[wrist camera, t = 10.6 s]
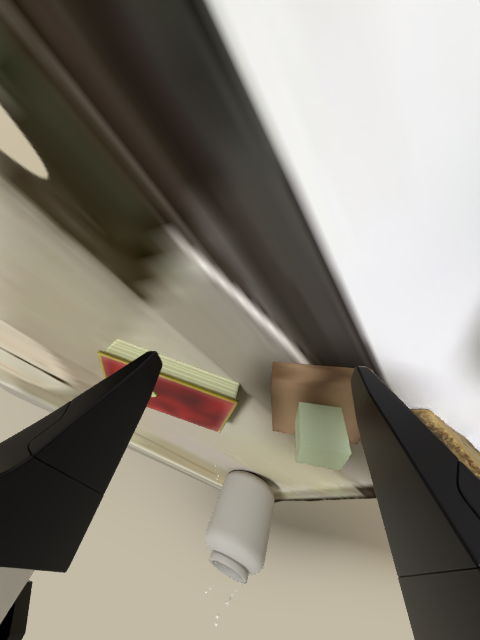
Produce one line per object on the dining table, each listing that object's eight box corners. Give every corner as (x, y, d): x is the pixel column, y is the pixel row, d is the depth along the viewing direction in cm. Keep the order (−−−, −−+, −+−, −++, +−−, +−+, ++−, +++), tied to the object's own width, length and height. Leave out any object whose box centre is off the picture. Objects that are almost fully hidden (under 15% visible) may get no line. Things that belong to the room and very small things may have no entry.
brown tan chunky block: (508, 460, 26) (528, 434, 21) (491, 528, 24) (509, 519, 18) (404, 414, 35) (399, 387, 29) (384, 461, 32) (375, 440, 27)
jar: (206, 463, 60) (165, 607, 40) (239, 458, 52) (208, 635, 32) (249, 487, 66) (232, 622, 46) (286, 486, 57) (283, 649, 38)
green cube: (341, 407, 24) (351, 453, 20) (332, 427, 27) (339, 470, 23) (298, 401, 25) (300, 444, 21) (295, 421, 28) (295, 462, 24)
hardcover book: (224, 412, 39) (218, 435, 36) (122, 376, 39) (107, 395, 35) (243, 380, 32) (237, 405, 28) (116, 334, 31) (96, 353, 28)
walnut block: (371, 366, 25) (382, 395, 22) (350, 416, 32) (357, 443, 29) (273, 359, 27) (270, 384, 24) (274, 407, 34) (272, 431, 31)
